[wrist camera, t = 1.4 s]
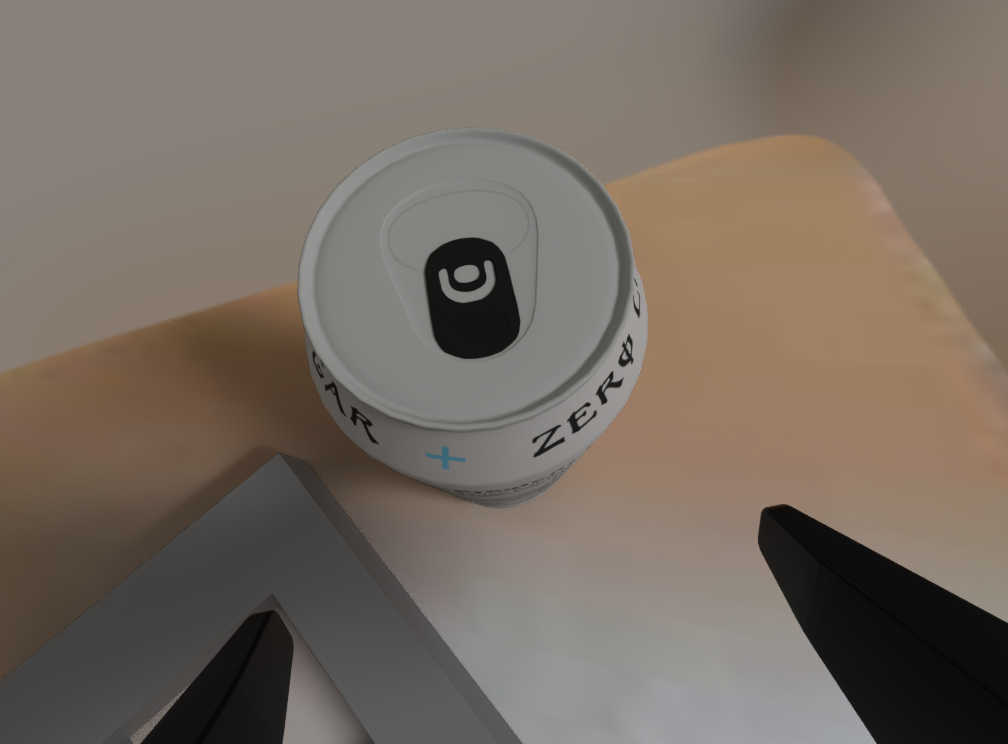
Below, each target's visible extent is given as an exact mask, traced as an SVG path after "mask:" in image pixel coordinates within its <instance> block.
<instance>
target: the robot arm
mask: <svg viewBox="0 0 1008 744" xmlns="http://www.w3.org/2000/svg"><path fill="white" fill-rule="evenodd" d="M758 544H759V548H760V551H761V553H762V555H763V557H764V558H765V560H766V562H767V564H768V566H769V568H770V570H771V572H772V574H773V575H774V577H775V579H776V581H777V583H778V585H779V587H780V589H781V591H782V593H783V594H784V596H785V598H786V600H787V602H788V604H789V606H790V608H791V610H792V611H793V613H794V615H795V617H796V619H797V621H798V623H799V624H800V626H801V628H802V630H803V632H804V633H805V635H806V636H807V638H808V640H809V641H810V643H811V644H812V646H813V648H814V649H815V651H816V652H817V654H818V655H819V657H820V658H821V660H822V661H823V663H824V664H825V666H826V667H827V669H828V670H829V672H830V673H831V675H832V676H833V678H834V679H835V681H836V682H837V684H838V686H839V687H840V689H841V690H842V692H843V693H844V695H845V696H846V698H847V699H848V701H849V702H850V704H851V705H852V707H853V708H854V710H855V711H856V713H857V714H858V716H859V717H860V719H861V720H862V722H863V723H864V725H865V727H866V728H867V730H868V731H869V733H870V734H871V736H872V737H873V739H874V740H875V742H876V743H877V744H1008V623H1007V622H1005V621H1003V620H1001V619H999V618H998V617H996V616H994V615H992V614H990V613H988V612H986V611H985V610H983V609H981V608H979V607H977V606H975V605H973V604H972V603H970V602H968V601H966V600H964V599H962V598H960V597H959V596H957V595H955V594H953V593H951V592H949V591H947V590H946V589H944V588H942V587H940V586H938V585H936V584H934V583H933V582H931V581H929V580H927V579H925V578H923V577H921V576H920V575H918V574H916V573H914V572H912V571H910V570H908V569H907V568H905V567H903V566H901V565H899V564H897V563H895V562H894V561H892V560H890V559H888V558H886V557H884V556H882V555H881V554H879V553H877V552H875V551H873V550H871V549H869V548H868V547H866V546H864V545H862V544H860V543H858V542H856V541H855V540H853V539H851V538H849V537H847V536H845V535H843V534H842V533H840V532H838V531H836V530H834V529H832V528H830V527H828V526H827V525H825V524H823V523H821V522H819V521H817V520H815V519H814V518H812V517H810V516H808V515H806V514H804V513H802V512H801V511H799V510H797V509H795V508H793V507H791V506H789V505H786V504H780V505H775V506H770V507H766V508H764V509H763V510H762V512H761V518H760V525H759V533H758ZM293 649H294V647H293V639H292V636H291V634H290V632H289V631H288V629H287V627H286V626H285V624H284V622H283V621H282V619H281V617H280V616H279V614H278V613H277V612H276V611H274V610H268V611H263V612H258V613H254V614H252V615H250V616H249V617H248V618H247V619H246V620H245V621H244V622H243V623H242V624H241V625H240V627H239V628H238V629H237V630H236V631H235V633H234V634H233V635H232V636H231V637H230V638H229V640H228V641H227V642H226V643H225V644H224V646H223V647H222V648H221V649H220V650H219V651H218V653H217V654H216V655H215V656H214V657H213V659H212V660H211V661H210V662H209V663H208V664H207V666H206V667H205V668H204V669H203V670H202V672H201V673H200V674H199V675H198V676H197V677H196V679H195V680H194V681H193V682H192V683H191V685H190V686H189V687H188V688H187V689H186V690H185V692H184V693H183V694H182V695H181V696H180V697H179V699H178V700H177V701H176V702H175V703H174V705H173V706H172V707H171V708H170V709H169V710H168V712H167V713H166V714H165V715H164V716H163V718H162V719H161V720H160V721H159V722H158V723H157V725H156V726H155V727H154V728H153V729H152V731H151V732H150V733H149V734H148V735H147V736H146V738H145V739H144V740H143V741H142V742H141V744H282V743H283V736H284V729H285V720H286V711H287V703H288V694H289V685H290V676H291V668H292V659H293Z"/></svg>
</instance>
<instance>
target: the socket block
mask: <svg viewBox="0 0 1008 744" xmlns="http://www.w3.org/2000/svg"><path fill="white" fill-rule="evenodd" d="M279 604H280V605H281V607H282V608H283V610H284V611H285V613H286V614H287V616H288V617H289V619H290V620H291V622H292V623H293V624H294V626H295V627H296V629H297V630H298V632H299V633H300V635H301V636H302V638H303V639H304V641H305V642H306V643H307V645H308V646H309V648H310V649H311V651H312V652H313V654H314V655H315V657H316V658H317V660H318V661H319V662H320V664H321V665H322V667H323V668H324V670H325V671H326V673H327V674H328V676H329V677H330V679H331V680H332V681H333V683H334V684H335V686H336V687H337V689H338V690H339V692H340V693H341V695H342V696H343V698H344V699H345V700H346V702H347V703H348V705H349V706H350V708H351V709H352V711H353V712H354V714H355V715H356V717H357V718H358V719H359V721H360V722H361V724H362V725H363V727H364V728H365V730H366V731H367V733H368V734H369V736H370V737H371V738H372V740H373V741H374V743H375V744H522V742H521V741H520V740H519V738H518V737H517V736H516V734H515V733H514V732H513V731H512V729H511V728H510V727H509V725H508V724H507V723H506V721H505V720H504V719H503V717H502V716H501V715H500V714H499V712H498V711H497V710H496V708H495V707H494V706H493V704H492V703H491V702H490V700H489V699H488V698H487V697H486V695H485V694H484V693H483V691H482V690H481V689H480V687H479V686H478V685H477V684H476V682H475V681H474V680H473V678H472V677H471V676H470V674H469V673H468V672H467V670H466V669H465V668H464V667H463V665H462V664H461V663H460V661H459V660H458V659H457V657H456V656H455V655H454V653H453V652H452V651H451V650H450V648H449V647H448V646H447V644H446V643H445V642H444V640H443V639H442V638H441V636H440V635H439V634H438V633H437V631H436V630H435V629H434V627H433V626H432V625H431V623H430V622H429V621H428V620H427V618H426V617H425V616H424V614H423V613H422V612H421V610H420V609H419V608H418V606H417V605H416V604H415V603H414V601H413V600H412V599H411V597H410V596H409V595H408V593H407V592H406V591H405V589H404V588H403V587H402V586H401V584H400V583H399V582H398V580H397V579H396V578H395V576H394V575H393V574H392V573H391V571H390V570H389V569H388V567H387V566H386V565H385V563H384V562H383V561H382V559H381V558H380V557H379V556H378V554H377V553H376V552H375V550H374V549H373V548H372V546H371V545H370V544H369V542H368V541H367V540H366V539H365V537H364V536H363V535H362V533H361V532H360V531H359V529H358V528H357V527H356V525H355V524H354V523H353V522H352V520H351V519H350V518H349V516H348V515H347V514H346V512H345V511H344V510H343V509H342V507H341V506H340V505H339V503H338V502H337V501H336V499H335V498H334V497H333V495H332V494H331V493H330V492H329V490H328V489H327V488H326V486H325V485H324V484H323V482H322V481H321V480H320V478H319V477H318V476H317V475H316V473H315V472H314V471H313V469H312V468H311V467H310V465H309V464H308V463H307V462H306V460H302V459H299V458H295V457H292V456H288V455H285V454H281V453H278V454H277V455H275V456H274V457H273V458H272V459H271V460H269V461H268V462H267V463H266V464H264V465H263V466H262V467H261V468H260V469H258V470H257V471H256V472H255V473H253V474H252V475H251V476H250V477H249V478H247V479H246V480H245V481H244V482H242V483H241V484H240V485H239V486H238V487H236V488H235V489H234V490H233V491H231V492H230V493H229V494H228V495H227V496H225V497H224V498H223V499H222V500H220V501H219V502H218V503H217V504H216V505H214V506H213V507H212V508H211V509H210V510H208V511H207V512H206V513H205V514H203V515H202V516H201V517H200V518H199V519H197V520H196V521H195V522H194V523H192V524H191V525H190V526H189V527H188V528H186V529H185V530H184V531H183V532H181V533H180V534H179V535H178V536H177V537H175V538H174V539H173V540H172V541H170V542H169V543H168V544H167V545H166V546H164V547H163V548H162V549H161V550H160V551H158V552H157V553H156V554H155V555H153V556H152V557H151V558H150V559H149V560H147V561H146V562H145V563H144V564H142V565H141V566H140V567H139V568H138V569H136V570H135V571H134V572H133V573H131V574H130V575H129V576H128V577H127V578H125V579H124V580H123V581H122V582H120V583H119V584H118V585H117V586H116V587H114V588H113V589H112V590H111V591H110V592H108V593H107V594H106V595H105V596H103V597H102V598H101V599H100V600H99V601H97V602H96V603H95V604H94V605H92V606H91V607H90V608H89V609H88V610H86V611H85V612H84V613H83V614H81V615H80V616H79V617H78V618H77V619H75V620H74V621H73V622H72V623H70V624H69V625H68V626H67V627H66V628H64V629H63V630H62V631H61V632H60V633H58V634H57V635H56V636H55V637H53V638H52V639H51V640H50V641H49V642H47V643H46V644H45V645H44V646H42V647H41V648H40V649H39V650H38V651H36V652H35V653H34V654H33V655H31V656H30V657H29V658H28V659H27V660H25V661H24V662H23V663H22V664H20V665H19V666H18V667H17V668H16V669H14V670H13V671H12V672H11V673H9V674H8V675H7V676H6V677H5V678H3V679H2V680H1V681H0V744H132V743H131V741H130V739H129V737H130V736H132V735H133V734H134V733H135V732H136V731H137V730H138V729H140V728H141V727H142V726H143V725H144V724H145V723H146V722H147V721H149V720H150V719H151V718H152V717H153V716H154V715H155V714H156V713H158V712H159V711H160V710H161V709H162V708H163V707H164V706H165V705H167V704H168V703H169V702H170V701H171V700H172V699H173V698H174V697H176V696H177V695H178V694H179V693H180V692H181V691H182V690H183V689H185V688H186V687H187V686H188V685H189V684H190V683H191V682H192V681H194V680H195V679H196V677H197V676H198V675H199V674H200V673H201V672H202V670H203V669H204V668H205V667H206V666H207V664H208V663H209V662H210V661H211V660H212V659H213V657H214V656H215V655H216V654H217V653H218V651H219V650H220V649H221V648H222V647H223V646H224V644H225V643H226V642H227V641H228V640H229V638H230V637H231V636H232V635H233V634H234V633H235V631H236V630H237V629H238V628H239V627H240V625H241V624H242V623H243V622H244V621H245V620H246V619H247V618H248V617H249V616H250V615H252V614H254V613H258V612H263V611H268V610H274V609H275V608H276V607H277V606H278V605H279Z"/></svg>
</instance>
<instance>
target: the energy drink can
mask: <svg viewBox="0 0 1008 744" xmlns="http://www.w3.org/2000/svg"><path fill="white" fill-rule="evenodd" d="M297 296H298V301H299V306H300V312H301V317H302V322H303V326H304V328H305V331H306V338H305V346H306V351H307V356H308V362H309V367H310V372H311V377H312V379H313V381H314V384H315V386H316V389H317V391H318V393H319V396H320V398H321V400H322V403H323V405H324V407H325V408H326V409H327V411H328V412H329V414H330V415H331V416H332V418H333V419H334V421H335V422H336V423H337V425H338V426H339V427H340V429H341V430H342V432H343V433H344V434H345V435H346V436H347V437H349V438H350V439H351V440H352V441H353V442H354V443H355V444H356V445H357V446H359V447H360V448H361V449H362V450H363V451H364V452H365V453H366V454H368V455H369V456H370V457H372V458H374V459H375V460H377V461H379V462H381V463H383V464H384V465H386V466H388V467H390V468H391V469H393V470H395V471H397V472H399V473H400V474H403V475H405V476H408V477H410V478H413V479H415V480H418V481H420V482H423V483H425V484H428V485H430V486H433V487H435V488H438V489H440V490H443V491H445V492H447V493H450V494H452V495H455V496H457V497H460V498H462V499H465V500H467V501H470V502H472V503H475V504H479V505H482V506H485V507H493V508H509V507H516V506H519V505H523V504H526V503H529V502H531V501H533V500H534V499H536V498H538V497H540V496H542V495H543V494H544V493H545V492H546V491H548V490H549V489H550V488H551V487H552V486H553V485H554V484H555V483H556V482H557V481H558V480H559V479H560V478H561V477H562V476H563V475H564V474H565V473H566V472H567V471H568V470H569V469H570V467H571V466H572V465H573V464H574V463H575V462H576V461H577V460H578V459H579V458H580V457H581V456H582V455H583V454H584V453H585V452H586V451H587V449H588V448H589V447H590V446H591V445H592V444H593V443H594V442H595V441H596V440H597V439H598V438H599V437H600V436H601V435H602V434H603V433H604V431H605V430H606V429H607V428H608V426H609V425H610V424H611V422H612V421H613V420H614V418H615V417H616V416H617V415H618V413H619V412H620V411H621V409H622V408H623V407H624V405H625V404H626V402H627V400H628V398H629V396H630V394H631V391H632V389H633V387H634V385H635V383H636V381H637V379H638V377H639V375H640V371H641V367H642V362H643V358H644V354H645V350H646V345H647V326H648V309H647V304H646V299H645V295H644V290H643V285H642V280H641V278H640V275H639V273H638V271H637V268H636V266H635V260H634V255H633V249H632V244H631V239H630V234H629V231H628V229H627V227H626V224H625V222H624V220H623V217H622V215H621V213H620V211H619V208H618V206H617V205H616V203H615V202H614V200H613V199H612V198H611V196H610V195H609V193H608V192H607V191H606V189H605V188H604V186H603V185H602V184H601V182H600V181H599V180H598V179H597V178H596V177H594V176H593V174H591V173H590V172H589V171H588V170H587V169H586V168H585V167H584V166H583V165H582V164H581V163H580V162H578V161H577V160H575V159H574V158H572V157H570V156H569V155H567V154H566V153H564V152H563V151H561V150H559V149H558V148H556V147H555V146H553V145H550V144H548V143H545V142H543V141H540V140H538V139H535V138H533V137H530V136H528V135H524V134H520V133H515V132H511V131H506V130H502V129H493V128H478V127H464V128H454V129H444V130H437V131H434V132H429V133H426V134H422V135H418V136H414V137H411V138H408V139H406V140H404V141H401V142H399V143H397V144H395V145H392V146H390V147H388V148H386V149H383V150H382V151H380V152H379V153H377V154H375V155H374V156H372V157H371V158H369V159H368V160H367V161H365V162H363V163H362V164H360V165H359V166H357V167H356V168H355V169H354V170H353V171H352V172H351V173H350V174H349V175H348V176H347V177H346V178H345V179H344V180H342V181H341V182H340V183H339V184H338V185H337V186H336V187H335V189H334V190H333V191H332V193H331V194H330V195H329V197H328V198H327V199H326V201H325V202H324V203H323V205H322V206H321V208H320V209H319V210H318V212H317V214H316V216H315V218H314V220H313V223H312V225H311V227H310V229H309V231H308V233H307V235H306V237H305V242H304V246H303V250H302V254H301V258H300V262H299V267H298V294H297Z"/></svg>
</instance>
